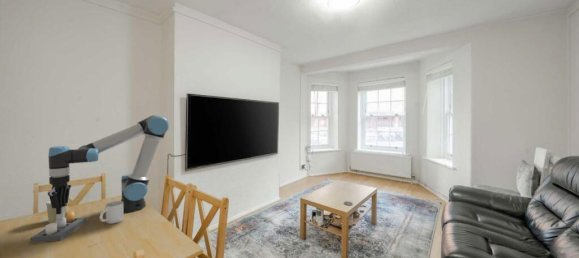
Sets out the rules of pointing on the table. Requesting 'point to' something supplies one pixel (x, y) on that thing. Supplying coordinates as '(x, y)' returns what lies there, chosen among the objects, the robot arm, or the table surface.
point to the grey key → (61, 223)
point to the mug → (113, 212)
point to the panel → (59, 231)
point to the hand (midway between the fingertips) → (60, 218)
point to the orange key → (70, 216)
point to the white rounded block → (51, 229)
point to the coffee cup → (54, 211)
